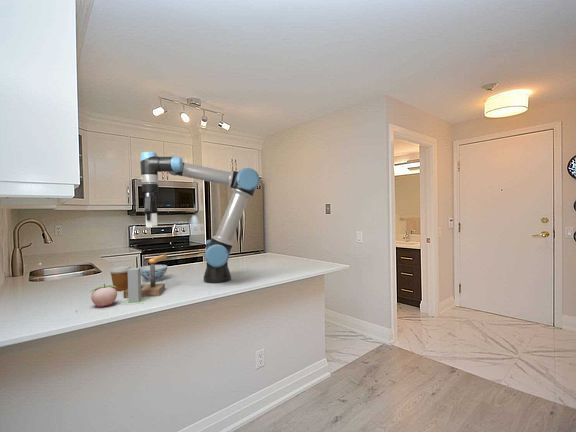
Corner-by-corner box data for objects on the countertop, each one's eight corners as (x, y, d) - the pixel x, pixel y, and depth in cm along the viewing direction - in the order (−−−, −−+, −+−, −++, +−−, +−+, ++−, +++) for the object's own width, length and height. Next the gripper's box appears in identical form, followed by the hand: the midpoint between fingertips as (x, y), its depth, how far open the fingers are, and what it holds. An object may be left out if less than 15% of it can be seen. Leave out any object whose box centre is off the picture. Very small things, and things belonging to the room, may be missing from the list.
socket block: (164, 291, 150) (164, 261, 150) (159, 298, 139) (158, 265, 138) (132, 293, 148) (131, 262, 147) (123, 300, 136) (122, 267, 135)
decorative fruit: (96, 313, 119) (95, 287, 119) (89, 309, 125) (88, 284, 124) (121, 307, 126) (120, 283, 126) (114, 303, 132) (113, 280, 132)
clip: (154, 263, 142) (153, 259, 142) (148, 263, 142) (147, 259, 142) (167, 258, 157) (167, 254, 157) (162, 258, 157) (162, 254, 157)
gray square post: (141, 299, 133) (140, 267, 133) (138, 302, 129) (137, 269, 129) (131, 300, 133) (130, 268, 132) (128, 302, 129) (127, 270, 128)
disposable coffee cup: (122, 294, 146) (122, 269, 145) (105, 293, 148) (104, 269, 147) (136, 289, 155) (135, 265, 155) (120, 288, 157) (119, 265, 157)
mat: (149, 299, 136) (149, 297, 136) (143, 306, 127) (143, 303, 127) (127, 301, 135) (127, 298, 135) (120, 307, 126) (119, 305, 126)
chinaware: (165, 276, 184) (164, 263, 184) (169, 281, 171) (169, 267, 171) (137, 279, 176) (137, 266, 176) (140, 285, 164) (139, 270, 163)
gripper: (147, 185, 162) (149, 225, 163) (135, 181, 138) (137, 228, 139) (162, 185, 164) (164, 225, 165) (153, 181, 140) (155, 227, 140)
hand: (152, 226), depth 152 cm, fingers open, 13 cm apart
